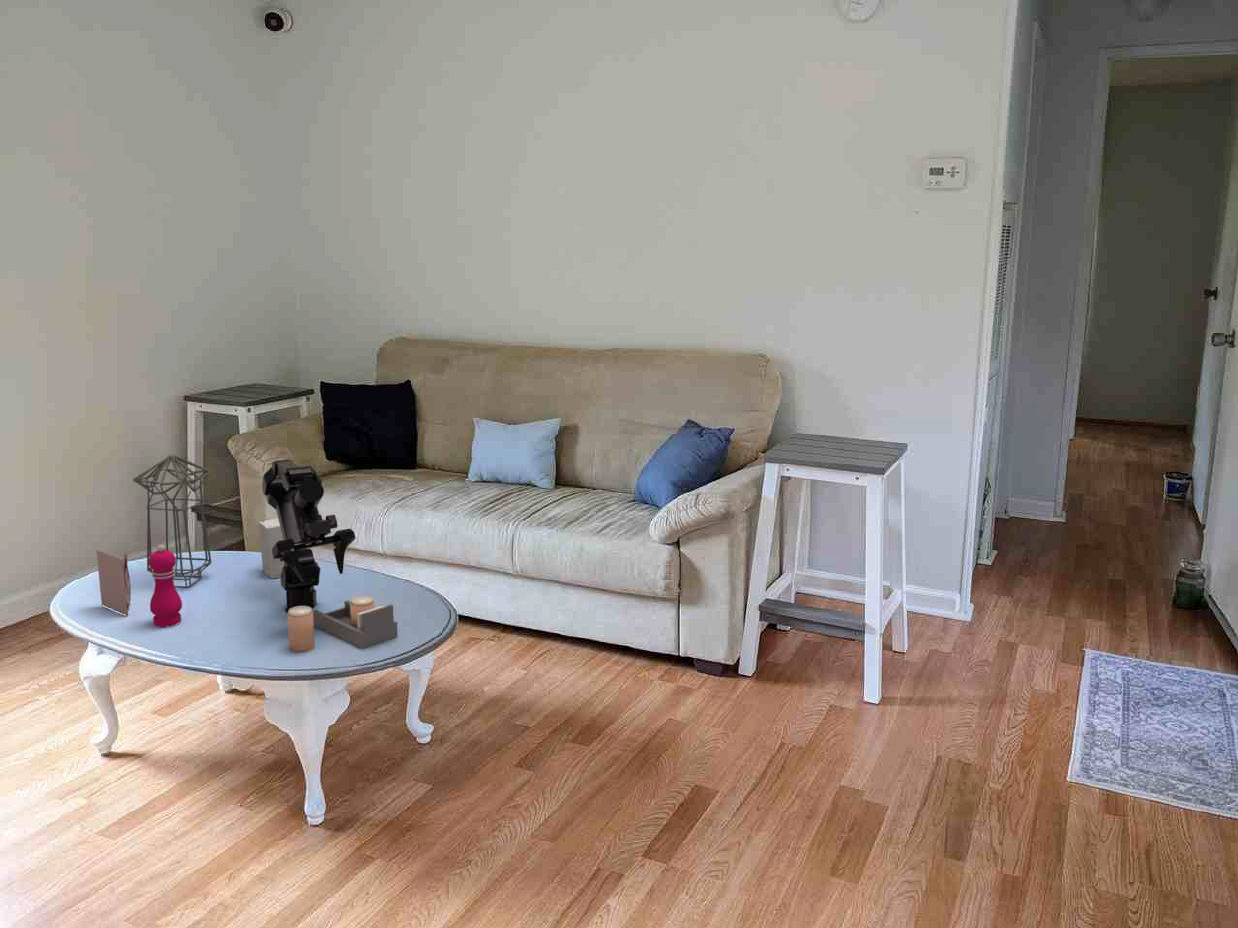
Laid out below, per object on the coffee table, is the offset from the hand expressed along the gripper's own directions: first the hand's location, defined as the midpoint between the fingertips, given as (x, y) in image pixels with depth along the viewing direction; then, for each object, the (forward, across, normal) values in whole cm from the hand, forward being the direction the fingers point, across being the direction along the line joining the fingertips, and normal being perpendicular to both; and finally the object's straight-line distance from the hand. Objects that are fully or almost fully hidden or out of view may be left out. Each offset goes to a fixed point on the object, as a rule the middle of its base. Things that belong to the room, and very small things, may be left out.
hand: (322, 577), depth 251 cm
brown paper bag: (-12, -39, +43) cm, 59 cm away
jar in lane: (+15, +7, +2) cm, 17 cm away
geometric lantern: (-19, -20, +54) cm, 61 cm away
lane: (+14, +6, +6) cm, 16 cm away
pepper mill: (-3, -30, +30) cm, 43 cm away
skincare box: (-15, +3, +49) cm, 51 cm away
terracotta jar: (+15, -8, +3) cm, 17 cm away
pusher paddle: (+17, +8, -1) cm, 19 cm away
